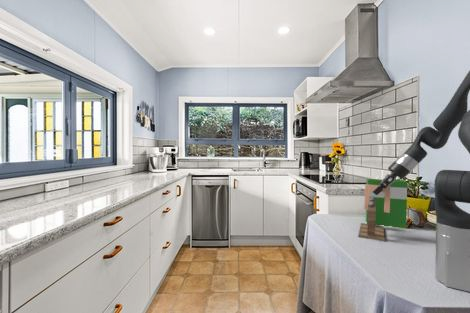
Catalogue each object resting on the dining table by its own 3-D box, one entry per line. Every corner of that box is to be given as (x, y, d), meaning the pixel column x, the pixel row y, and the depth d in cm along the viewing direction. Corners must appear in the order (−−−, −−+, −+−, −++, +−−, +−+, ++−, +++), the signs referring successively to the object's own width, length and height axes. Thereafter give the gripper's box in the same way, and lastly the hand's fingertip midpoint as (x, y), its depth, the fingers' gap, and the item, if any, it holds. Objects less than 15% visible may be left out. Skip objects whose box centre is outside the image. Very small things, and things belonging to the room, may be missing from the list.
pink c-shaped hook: (389, 212, 105) (390, 186, 106) (364, 209, 110) (365, 184, 111) (389, 212, 107) (389, 186, 108) (364, 208, 112) (365, 184, 113)
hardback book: (402, 224, 126) (403, 180, 126) (406, 228, 120) (407, 182, 119) (365, 220, 134) (366, 178, 133) (366, 223, 127) (367, 180, 127)
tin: (425, 228, 120) (426, 212, 120) (419, 228, 121) (419, 212, 121) (410, 220, 135) (410, 206, 135) (404, 220, 136) (404, 205, 135)
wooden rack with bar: (384, 241, 101) (385, 204, 101) (358, 236, 106) (359, 202, 106) (383, 228, 119) (383, 197, 119) (360, 225, 124) (361, 195, 124)
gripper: (413, 170, 98) (382, 200, 102) (408, 172, 110) (380, 198, 114) (396, 159, 101) (367, 188, 105) (393, 162, 113) (367, 187, 117)
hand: (374, 193), depth 110 cm, fingers closed on pink c-shaped hook, 3 cm apart
